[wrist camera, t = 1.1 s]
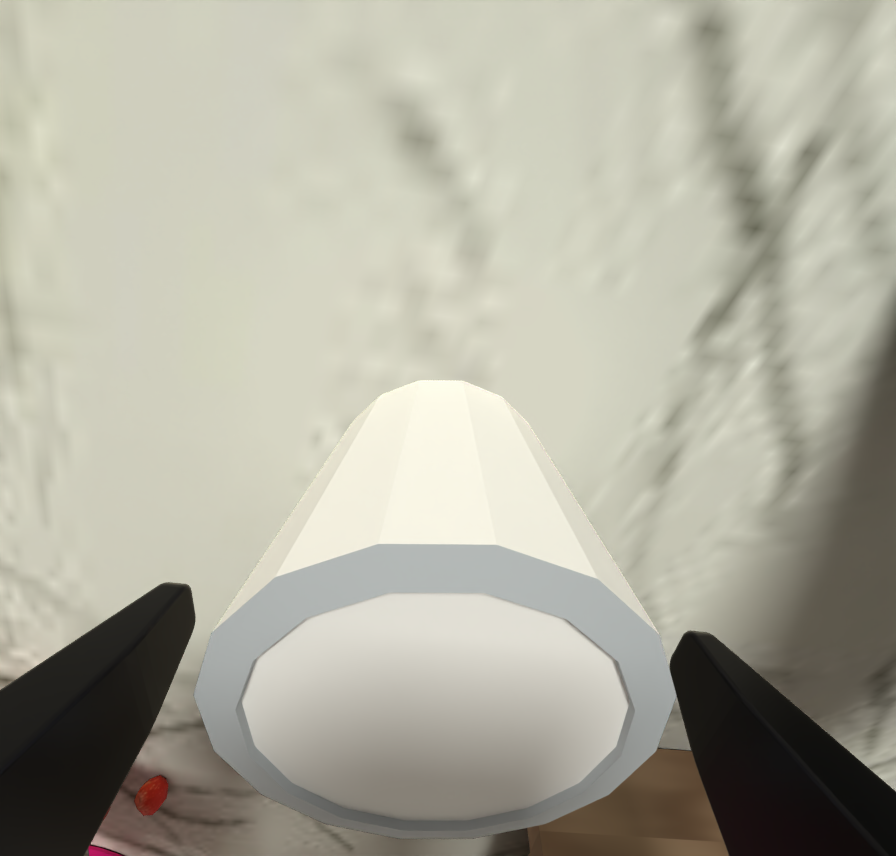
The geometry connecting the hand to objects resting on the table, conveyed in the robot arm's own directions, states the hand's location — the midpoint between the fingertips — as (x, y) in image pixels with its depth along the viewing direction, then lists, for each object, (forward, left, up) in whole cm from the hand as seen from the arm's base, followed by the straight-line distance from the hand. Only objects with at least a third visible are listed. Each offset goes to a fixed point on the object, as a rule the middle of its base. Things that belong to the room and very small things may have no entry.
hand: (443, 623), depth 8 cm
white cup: (0, 0, -5) cm, 5 cm away
